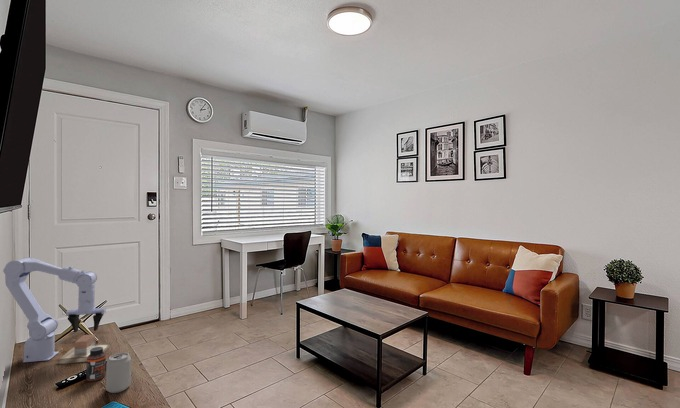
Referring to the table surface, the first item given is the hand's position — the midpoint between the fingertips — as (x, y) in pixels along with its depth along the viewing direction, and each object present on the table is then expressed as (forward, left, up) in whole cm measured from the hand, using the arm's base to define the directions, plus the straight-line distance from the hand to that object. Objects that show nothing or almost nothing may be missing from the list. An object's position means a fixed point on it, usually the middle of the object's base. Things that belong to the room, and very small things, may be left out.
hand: (86, 330), depth 150 cm
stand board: (0, -1, -10) cm, 10 cm away
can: (+24, -34, -11) cm, 43 cm away
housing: (0, -1, -9) cm, 9 cm away
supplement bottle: (+13, -24, -11) cm, 29 cm away
